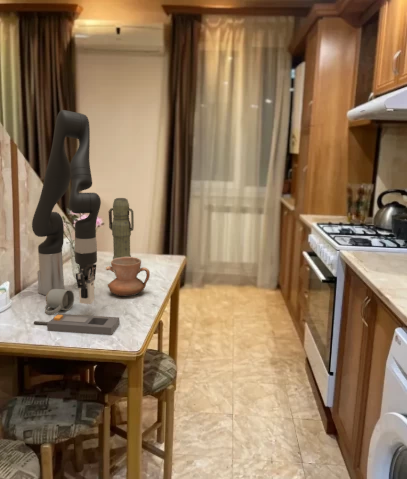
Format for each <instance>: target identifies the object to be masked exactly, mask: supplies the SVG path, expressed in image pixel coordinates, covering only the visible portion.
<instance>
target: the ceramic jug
mask: <svg viewBox="0 0 407 479" xmlns="http://www.w3.org/2000/svg"><path fill="white" fill-rule="evenodd" d="M110 263H111V266H110V265H109V266H106V267H105V271H111V272H112V273H113V274H114V276H115V277H116V278H114V279H113V280H111V281H110V282H109V283H108V284H107V288H108V289H109V291H110V293H112V294H113V295H116V296H120V297H131V296H134V295H138V294H139V293H140V294H141V292H143V291H144V289H145V288H146V286H147V285H146V284H147V282H149V280H150V276H151V274H150V273H151V272H150V270H149V268H148V267H141V266H142V259H141V258H138V257H134V256H131V257H120V258H115V259H113V258H112V260H111V261H110ZM141 272H145V273H146V278H145V280H144V282H143V281H142V280H141V279H140V278H138V277H137V276H138V274H140V273H141Z"/></svg>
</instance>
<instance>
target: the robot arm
mask: <svg viewBox="0 0 407 479" xmlns="http://www.w3.org/2000/svg"><path fill="white" fill-rule="evenodd" d="M90 133H91V132H90V121H89V118H88V116H87V115H86V114H83V113H80V112H74V111H71V110H65V109H61V110H59V112H58V114H57V116H56V119H55V124H54V131H53V138H52V144H51V150H50V155H49V158H48V163H47V165H46V171H45V175H44V179H43V182H42V183H43V185H42V188H41V192H40V196H39V199H38V203H37V206H36V208H35V211H34V214H33V216H32V221H31V228H32V229H31V230H32V232H33V234H34V235H35V236H36V237H39V238H45V237H46V238H45V240H44V241H43V242H41V243H40V244H38V246H37V249H38V251H37V252H38V268H39V270H37V272H36V274H37V286H38V288H37V289H38V294H39V295H40V294H41V295H43V296H46V295H47V293H48V292H49V291H50V290H52V289H65V282H64V263H63V262H64V260H63V246H64V232H65V231H64V227H65V226H64V219H63V217H62V215H61V214H60V213H59V212H57V211H53V209H54V208H55V207H56V205H57V203H58V202H59V201H60V200H61V199H62V197H63V196H64V195H65V193H66V192H67V191H68V189H69V186H70V184H71V188H70V189H71V191H70V196H69V199H68V208H69V210H70V211H71V212H72V213H73V214H76V215H79V214H88V216H86V218H82V219H78V220H76V221H75V224H74V236H75V237H74V262H75V264H76V265H78V266H79V269H78V273H76V274H75V281H76V284H77V289H79V288H81V298H87V297H88V288H87V287H88V282H89V279H90V276H91V277H93V276H94V281H95V280H96V272H97V271H96V270H97V264H96V263H97V262H98V243H97V242H98V241H97V220H98V216H99V212H100V209H101V204H102V201H101V197H100V196H99V194H98V193H96V192H82V191H86V190H88V189H90V188H91V187H92V186H93V178H92V172H91V165H90V143H91V142H90V141H91V140H90V138H91V137H90ZM66 138H70V139H76V140H78V148H77V150H76V152H75V153H74V155H73V156H72V159H71V161H69V159H68V158H69V157H68V156H67V153H66V149H65V140H66ZM70 181H71V182H70ZM84 278H87V279H84ZM82 284H83V285H82Z"/></svg>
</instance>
